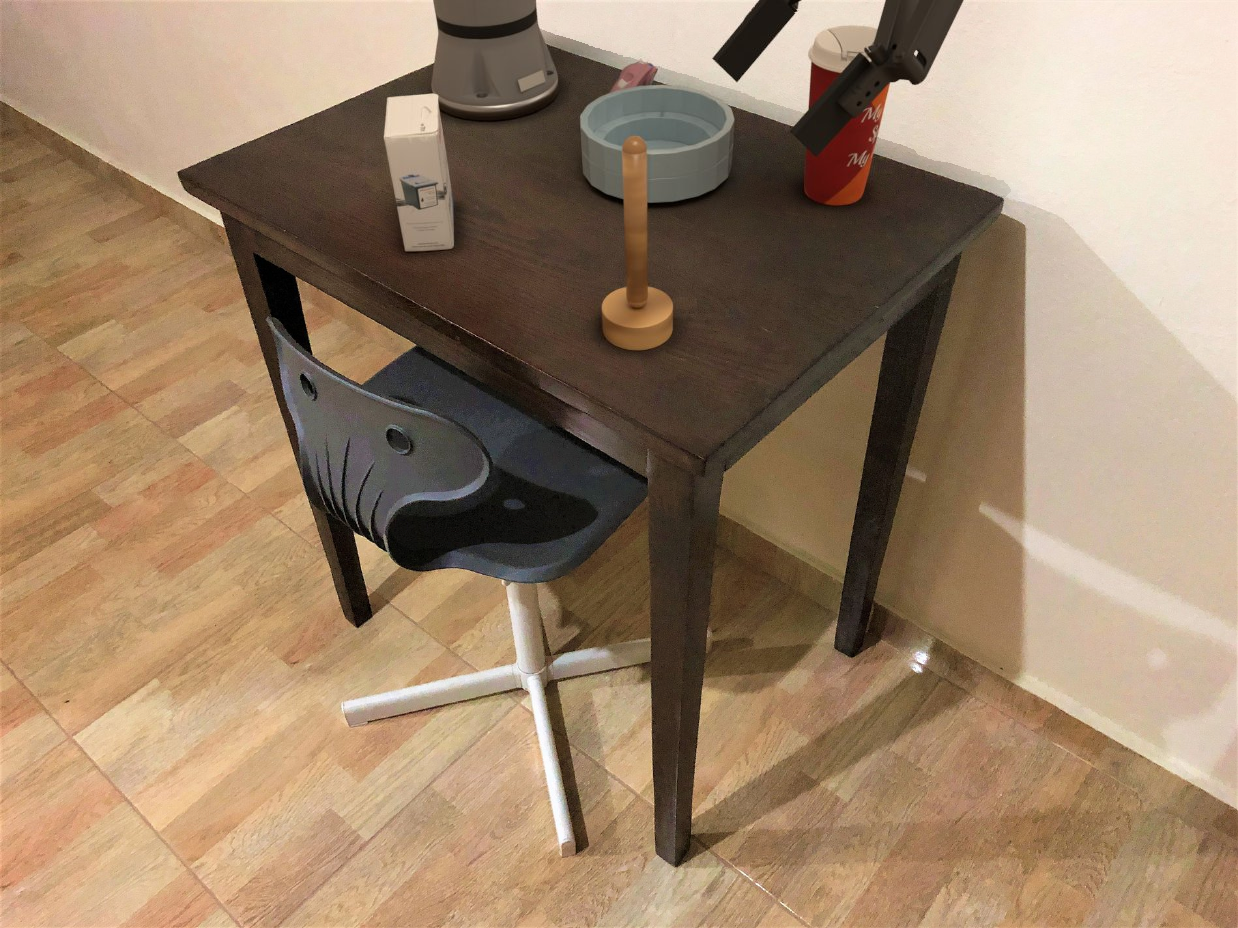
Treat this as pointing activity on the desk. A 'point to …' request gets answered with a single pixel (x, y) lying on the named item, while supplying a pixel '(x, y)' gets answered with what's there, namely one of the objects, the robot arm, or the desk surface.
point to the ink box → (419, 172)
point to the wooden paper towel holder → (636, 267)
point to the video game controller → (635, 76)
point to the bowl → (659, 140)
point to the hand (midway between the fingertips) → (760, 105)
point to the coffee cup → (851, 150)
